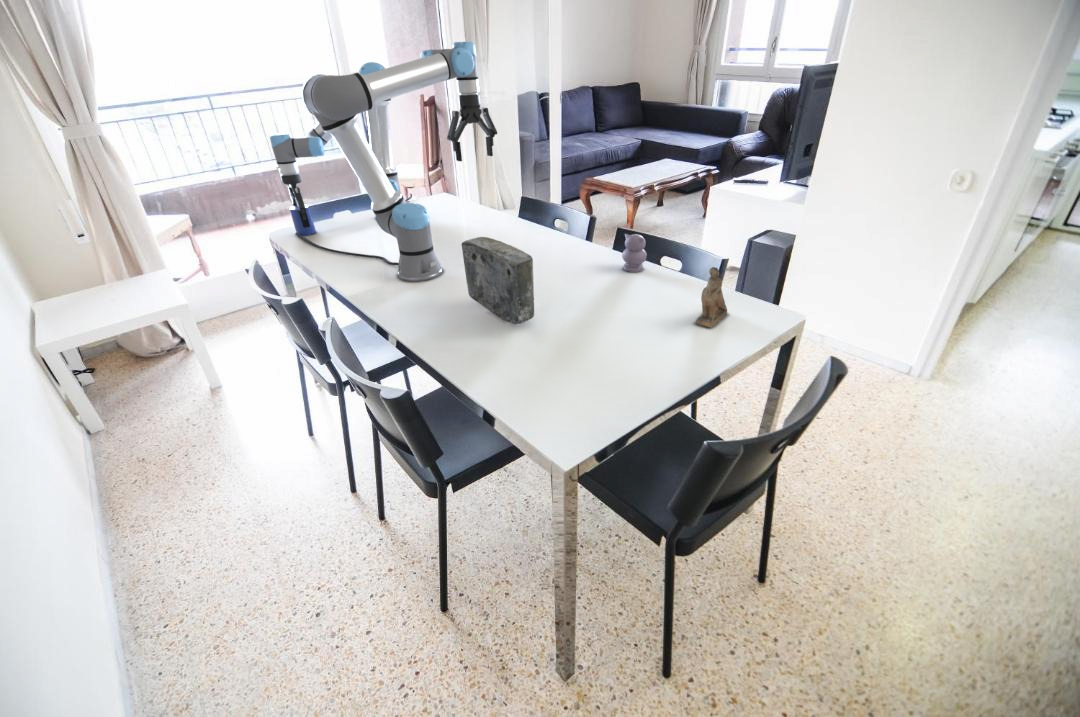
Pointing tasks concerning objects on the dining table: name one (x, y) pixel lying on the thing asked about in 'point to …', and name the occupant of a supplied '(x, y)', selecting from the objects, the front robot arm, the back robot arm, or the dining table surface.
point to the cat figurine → (634, 253)
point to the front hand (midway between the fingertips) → (475, 158)
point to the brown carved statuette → (712, 301)
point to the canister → (298, 221)
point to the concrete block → (500, 278)
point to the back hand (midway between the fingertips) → (303, 223)
